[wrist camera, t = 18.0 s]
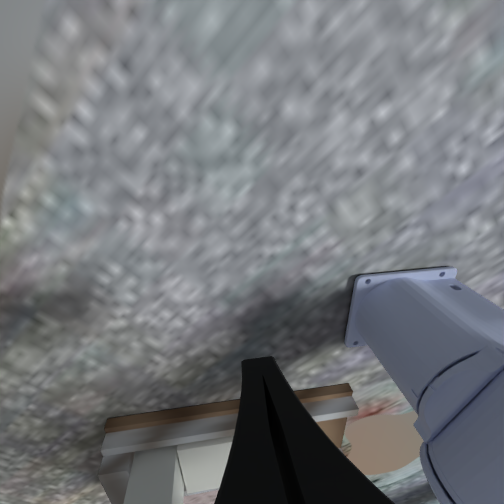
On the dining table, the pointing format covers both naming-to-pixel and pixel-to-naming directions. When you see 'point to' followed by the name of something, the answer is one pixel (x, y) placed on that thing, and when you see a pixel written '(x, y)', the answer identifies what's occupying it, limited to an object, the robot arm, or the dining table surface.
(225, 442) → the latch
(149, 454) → the block
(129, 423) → the rail board
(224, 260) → the dining table surface
